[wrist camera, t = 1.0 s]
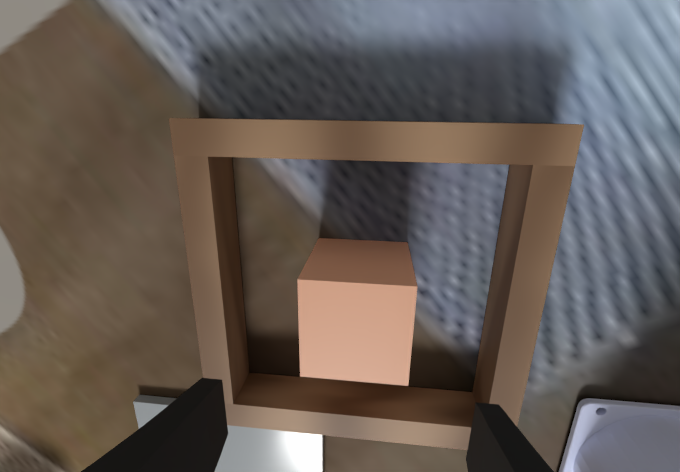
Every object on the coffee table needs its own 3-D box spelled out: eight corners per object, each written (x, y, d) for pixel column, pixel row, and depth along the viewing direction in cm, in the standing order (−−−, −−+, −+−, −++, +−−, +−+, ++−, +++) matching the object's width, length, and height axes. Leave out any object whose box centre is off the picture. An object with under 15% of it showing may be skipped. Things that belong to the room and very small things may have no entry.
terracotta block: (407, 241, 18) (417, 286, 13) (401, 320, 19) (408, 385, 15) (318, 237, 18) (297, 279, 14) (319, 314, 20) (299, 376, 15)
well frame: (552, 123, 15) (584, 124, 13) (495, 415, 20) (511, 454, 18) (198, 117, 17) (168, 118, 15) (227, 390, 22) (209, 423, 20)
